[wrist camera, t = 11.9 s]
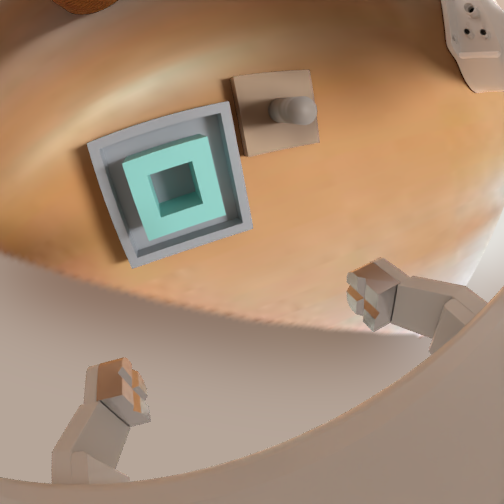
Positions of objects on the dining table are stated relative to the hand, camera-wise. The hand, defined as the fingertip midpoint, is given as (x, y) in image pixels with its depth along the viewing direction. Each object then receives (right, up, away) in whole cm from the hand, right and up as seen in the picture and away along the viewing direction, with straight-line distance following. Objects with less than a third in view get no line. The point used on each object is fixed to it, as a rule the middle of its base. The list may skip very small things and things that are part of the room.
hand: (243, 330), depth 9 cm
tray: (-6, +8, +13) cm, 17 cm away
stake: (+2, +15, +13) cm, 20 cm away
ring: (-6, +8, +12) cm, 16 cm away
